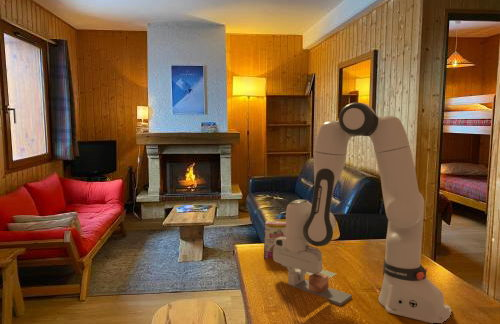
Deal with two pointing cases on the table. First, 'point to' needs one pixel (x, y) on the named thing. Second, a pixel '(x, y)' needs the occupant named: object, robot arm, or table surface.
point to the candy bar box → (272, 236)
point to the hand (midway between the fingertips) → (296, 278)
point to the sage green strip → (320, 272)
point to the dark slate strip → (331, 294)
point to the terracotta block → (318, 283)
